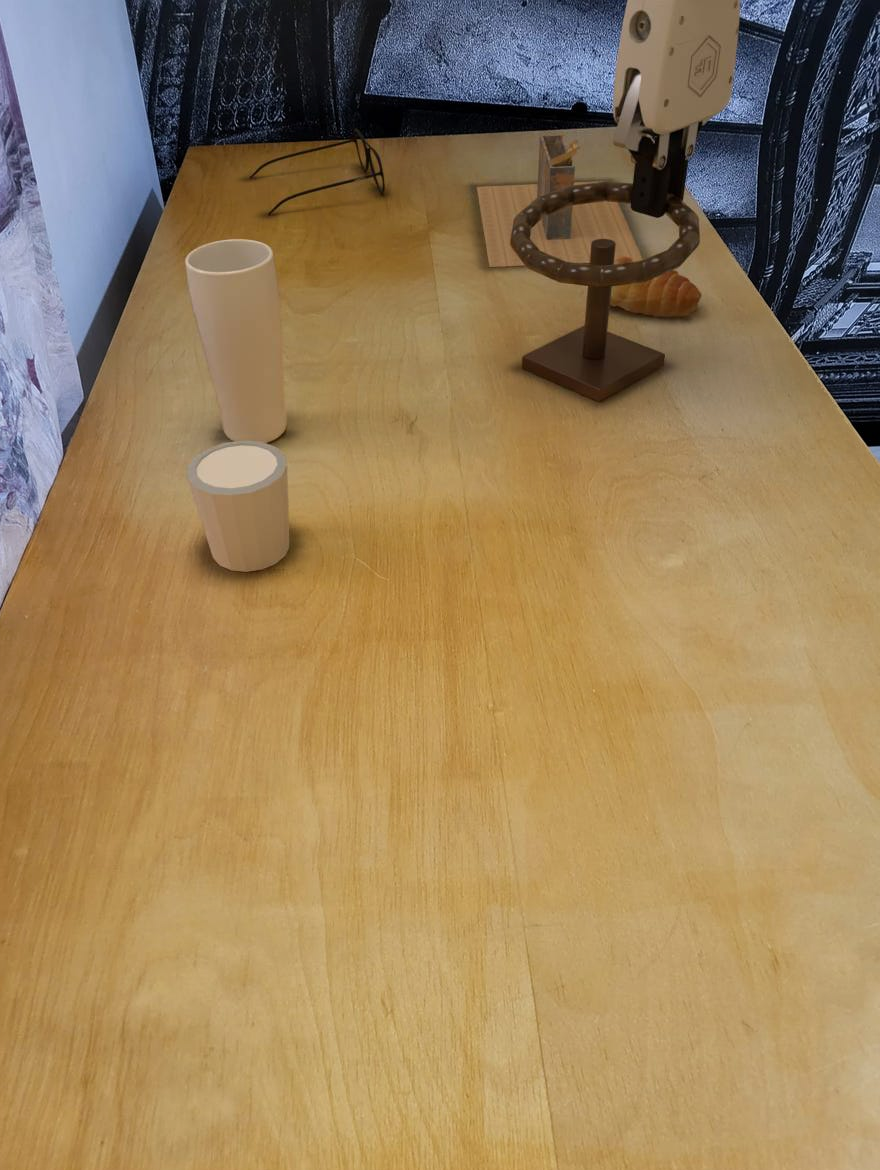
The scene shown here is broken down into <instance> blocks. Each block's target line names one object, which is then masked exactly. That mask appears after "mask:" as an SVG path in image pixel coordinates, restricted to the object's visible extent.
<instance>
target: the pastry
mask: <svg viewBox="0 0 880 1170" xmlns="http://www.w3.org/2000/svg"><path fill="white" fill-rule="evenodd" d="M644 259H645V258H642V259H640V260H637V261H634V260H632V259H631V258H629V257H625V256H621V257H620V258H618V259H616V260H615V261H614V264H621V263H630V262H638V261H642V260H644ZM701 297H702V293H701V291H700V290H699V288H698V287H697V286H696V285H695V284H694V283H692V282H691V281H690V279H689V278H688V277H686V276H684V275H680V274H679V272H678V271H677V270H676V269H675V270H672V271H670V272H667V273H665V274H663V275H660V276H658V277H655V278H653V279H651V280H648V281H646V282H643V283H636V284H627V285H619V286H612V288H611V298H610V306H611V307H612V308H616V307H620V308H622V309H623V310H624V311H627V312H630V313H634V314H636V313H640V314H643V315H645V316H646V317H647V316H653V317H658V318H659V317H660V318H666V317H667V318H668V317H674V316H679V317H681V316H682V317H684V316H686V315H688V314H690V313H692V312H694V310H695V309H697V307H698V305H699V302H700V300H701Z"/></svg>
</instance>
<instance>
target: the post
mask: <svg viewBox="0 0 880 1170" xmlns="http://www.w3.org/2000/svg"><path fill="white" fill-rule="evenodd" d="M615 247H616V243H615V242H614V241H613V240H610V239H597V240H594V241H593V242H592V243H591V253H590V263H589V264H591V265H600V266H605V265H613V264H614V257H615ZM611 288H612V286H611V287H602V288H600V287H591V286H587V291H586V303H585V304H586V305H585V318H584V324H583V325H582V326H580V327H578V328H576V329H574V330H572V331H570V332H568V333H565V334H564V335H562V336H560V337H558V338H556V339H553V340H552V341H550V342H548V343H545V344H544V345H542V346H540V347H538V348H536V349H534V350H531V351H529V352H527V353H525V354H523V355H522V356H521V368H522V370H525V371H528V372H530V373H533V374H535V375H537V376H539V377H542V378H544V379H546V380H548V381H550V382H553V383H555V384H557V385H559V386H562V387H564V388H566V389H569V390H571V391H574V392H576V393H577V394H580V395H582V396H584V397H587V398H589V399H592V400H593V401H596V402H599V403H600V402H601V401H603V400H605V399H607V398H608V397H611V396H612V395H614V394H617V392H620V391H622V390H623V389H625V388H627V387H629V386H630V385H632V384H634V383H636V382H637V381H639V380H641V379H643V378H645V377H646V376H648V375H650V374H652V373H654V372H655V371H657V370H659V369H661V368H663V367H664V366H665V360H666V353H665V352H662V351H659V350H657V349H654V348H652V347H649V346H646V345H644V344H641V343H640V342H639V343H638V342H636V341H634V340H631V339H629V338H626V337H623V336H620V335H618V334H615V333H613V332H611V331H608V327H609V317H610V308H611V307H610V306H611V305H610V298H611Z"/></svg>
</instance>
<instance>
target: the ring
mask: <svg viewBox="0 0 880 1170" xmlns="http://www.w3.org/2000/svg"><path fill="white" fill-rule="evenodd" d="M603 181H604V182H599V181H595V182H596V183H588V184H580V185H571V186H567V187H564V188H562V189H559V190H556V191H554V192H551V193H548V194H546V195H543V196H541V197H538V198H536V199H535V200H534V201H533V202H531V203H530V204H529V205H528V206H527V207H526V208H525V209H524V210H522V211H521V212H520V213H519V214H518V215H517V216H516V217H515V218H514V221H513V227H512V233H511V239H510V245H511V248H512V249H513V251H514V252H515V253H516V254H517V256H518V257H519V258H520V259H521V261H522V262H523V263H524V265H525V266H524V267H525V268H527V269H528V270H530V271H532V272H534V273H537V274H539V275H541V276H544V277H547V278H548V279H550V280H553V281H556V282H557V283H560V284H567V285H577V286H585V287H588V286H591V287H600V288H602V287H611V286H619V285H627V284H636V283H643V282H646V281H648V280H651V279H653V278H655V277H658V276H660V275H663V274H665V273H667V272H670V271H672V270H675V271H676V270H677V269H679V268H680V267H681V266H682V265H683V264H684V263H685V262H686V260H687V259H688V258H689V257H690V256H691V255H692V254H693V253H694V252H695V251H696V250H697V248H698V247H699V246H700V243H701V234H700V233H701V232H700V218H699V215H698V214H697V213H696V212H695V211H694V210H693V209H692V208H691V207H690V206H689V205H687V203H685V202H684V200H683V201H682V200H681V199H680V198H679V197H677V196H676V195H673V194H670V193H667V200H666V207H665V214H664V215H666V216H667V217H668V218H669V219H670V220H671V221H672V222H673V223H674V224H675V225H676V226H677V227H678V238H677V239H676V240H675V241H674V242H673V243H672V244H671V245H670V247H668V249H666V250H663V251H661V252H658V253H656V254H654V255H650V256H649V257H646V258H643V259H644V260H642V261H638V262H630V263H621V264H613V265H605V266H600V265H591V264H590V263H573V262H566V261H563V260H561V259H559V258H556V257H554V256H551V255H549V254H547V253H544V252H542V251H540V250H539V249H538V248H537V246H536V245H535V244H534V243H533V241H532V240H531V239H530V236H531V229H532V227H534V226H535V225H536V224H537V223H538V222H539V221H540V220H541V219H542V218H543V217H544V216H546V215H548V214H551V213H554V212H556V211H559V210H562V209H564V208H567V207H569V206H572V205H580V204H588V203H596V202H604V201H608V202H618V204H619V203H620V204H629V205H631V196H632V187H633V182H631V183H630V182H622V181H610V180H609V181H608V180H603Z"/></svg>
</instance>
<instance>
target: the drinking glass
mask: <svg viewBox="0 0 880 1170" xmlns="http://www.w3.org/2000/svg"><path fill="white" fill-rule="evenodd" d="M184 266H185V272H186V281H187V289H188V293H189V299H190V303H191V310H192V313H193V318H194V323H195V325H196V329H197V333H198V336H199V337H198V338H199V340H200V343H201V347H202V350H203V355H204V358H205V362H206V365H207V369H208V373H209V376H210V379H211V383H212V387H213V390H214V395H215V398H216V402H217V405H218V410H219V414H220V419H221V425H222V430H223V433H224V435H225V437H227V439H229V440H230V441H231V442H235V441H257V442H263V443H266V444H269V443H270V442H273V441H274V440H276V439H278V438H279V437H281V436H282V434H284V433H285V431H286V429H287V423H288V420H287V419H288V418H287V411H286V403H285V384H284V383H285V382H284V359H283V358H284V356H283V330H282V328H283V327H282V308H281V307H282V306H281V295H280V294H281V293H280V286H279V279H278V273H277V267H276V261H275V256H274V251H273V249H272V248H271V247H270V246H269V245H268V244H266V243H264V242H261V241H259V240H258V241H257V240H254V239H246V238H245V239H243V238H231V239H223V240H217V241H212V242H209V243H206V244H203V245H199V246H198V247H196V248H194V249H193V250H192V251H190V252H189V253H188V254H186V257H185V259H184Z"/></svg>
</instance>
